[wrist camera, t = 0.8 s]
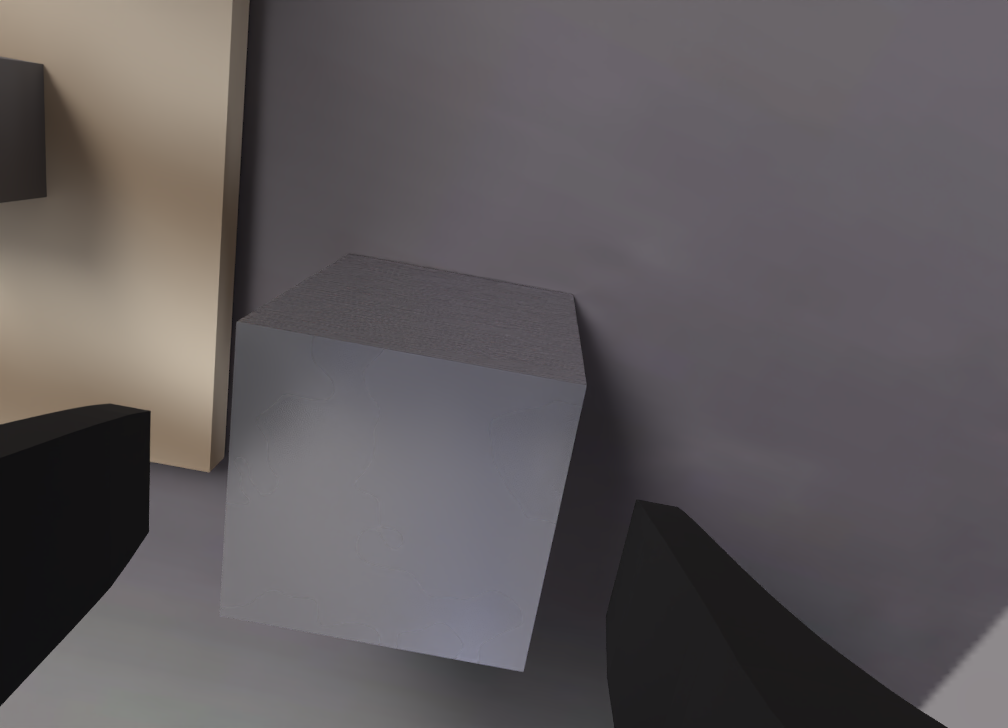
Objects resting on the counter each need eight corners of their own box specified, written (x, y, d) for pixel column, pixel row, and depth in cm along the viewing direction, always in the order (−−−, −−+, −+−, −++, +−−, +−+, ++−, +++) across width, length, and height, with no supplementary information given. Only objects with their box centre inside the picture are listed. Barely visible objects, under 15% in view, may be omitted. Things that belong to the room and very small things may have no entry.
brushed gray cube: (531, 495, 17) (523, 671, 12) (327, 457, 17) (219, 616, 12) (572, 294, 16) (586, 385, 10) (348, 253, 16) (236, 321, 10)
